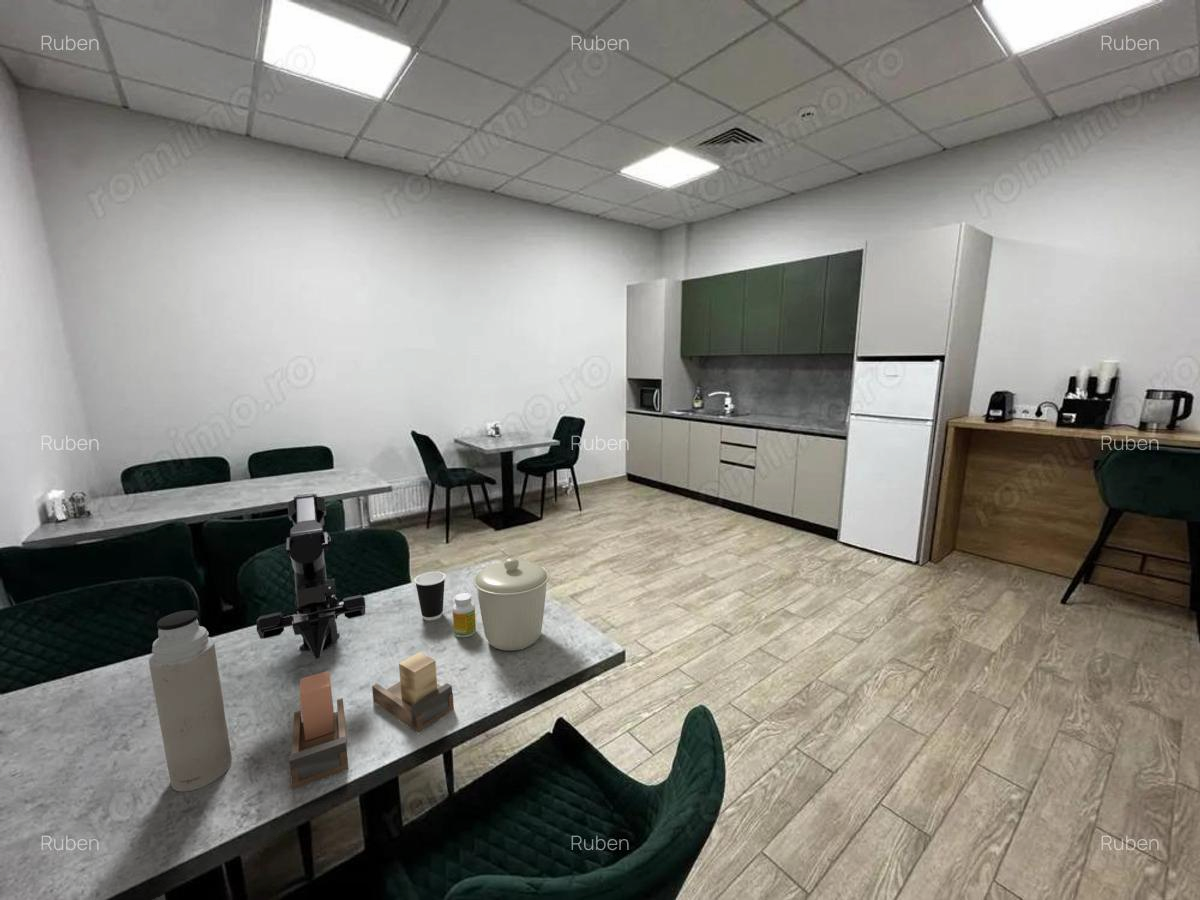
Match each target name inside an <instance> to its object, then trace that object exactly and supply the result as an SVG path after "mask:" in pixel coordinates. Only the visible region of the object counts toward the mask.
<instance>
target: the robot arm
mask: <svg viewBox="0 0 1200 900" xmlns="http://www.w3.org/2000/svg"><path fill="white" fill-rule="evenodd" d="M317 495H318V494H317V493H305V494H297V495H296V496H295V495H294V496H293V499H292V500H290V501H288V502H287V512H288V519H289V521H292V525H293V526H292V527H291V528H290V532H289V537H286V547H285V549H286V550H285V552H286V557H289V558H290V560H291V565H292V569H293V570H294V571H293V572H294V586H295V597H294V614H293V615H292V614H291V615H287V616H283V615H282V612H281V611H279V612H275V613H269V614H265V615H264V614H263V615H261V616H259V617H258V618H257V619H256V632H257V634H258V636H259V638H260V639H265V640H266V639H270V638H273V637H278V636H280V635H282V633H283V632H284V631H285V628H287V627H292V630H293V633H294V635H295V636H299V635H301V637H302V642H303V643H302V644H301V645H300V646H299V650H301V651H305V650H307V651H310V652H311V653H312V656H313V658H314V659H315V660H318V659H321V656H322V652H323V651H324V650H325V651H326V650H327V649H328V648H329V647H330V646H332V644H333V643H334V642H335V641H336V640H337V639H338V638H339V637H340V633H339V632H338V627H337V622H336V620H337V619H338V617H339V616H340V615H344V617H345V618H347V619H349V620H351V619H354V618H358V617H362V616H365V615H366V599H365V597H364V596H363V595H362V594H359V595H354V596H349V597H344V598H342V600H343V602H342V603H343V604H340V599H338V598H337V596H336V595H337V590H336V589H337V588H336V581H335V578H331V579H327V570H326V561H325V552H326V551H329V548H330V547H332V539H331V536H330V535H329V533H328V532H327V531H324V529H323V528H324V527H323V526H324V525H325V517H324V516H327V507H326V499H325V498H324V497H321V496H317Z"/></svg>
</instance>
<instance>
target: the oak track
mask: <svg viewBox="0 0 1200 900" xmlns="http://www.w3.org/2000/svg"><path fill="white" fill-rule="evenodd" d="M371 688H372V690H371V691H372V699H373V702H374V703H375V704H377V706H379V707H381V708H382V709H383V710H385V711H386V712H387V713H389V714H390V715H392V716H393V717H394V718H395V719H397V720H399V721H400V722H401V723H402V724H403V725H405V726H407V727H408V728H410V729H411V730H412V731H414V732H415V733H416V734H420V733H421V732H423V731H424V730H426V729H427V728H428V727H431V725H433V724H434V723H436V722H437V721H439V720H440V719H441V718H443V717H445V716H446V715H447V714H449V713H451V712H452V711H453V710H454V709H455V708H454V707H455V706H454V705H455V704H454V693H453V685H451V684H450V683H448V682H446V683H445V684H442V685H440V684H438V683H437V690H435V691H433V692H432V693H430V694H429V695H427V696H426V697H424V698H422V699H421V700H419V701H418V702H416V703H415V704H413V705H411V706H410V705H408V704H407V703H405V702H404V701H402V696H401V684H400V681H399V682H396V683H394V684H393V685H391V686H389V687H388V688H385V687H384V686H382V685H380V684H378V683H377V682H376V683H375V684H373V685H371Z"/></svg>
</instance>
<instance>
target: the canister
mask: <svg viewBox="0 0 1200 900" xmlns="http://www.w3.org/2000/svg"><path fill="white" fill-rule="evenodd" d="M549 580H550V572H549V570H548V569H546V568H545V567H544V566H543V565H540V564H537V563H536V562H533V561H528V560H519V559H518V558H516V557H509V558H507V559H506V560H504V561H500V562H496V563H493V564H491V565H488V566H487V567H485V568H483V569H481V570H480V571H479V572H477V573H476V574H475V576H474V577H473V583H472V584H473V586H474V587H475V588H476V589H477V590H476V592H477V599H478V604H479V609H480V615H481V616H480V617H481V621H482V626H483V631H484V632H483V633H484V635H485V638H486V640H487V642H488V643H489V645H491V646H492V647H493V648H495V649H498V650H500V651H508V652H510V651H518V650H519V651H520V650H523V649H525V648H529V647H531V646H533V644H535V643H536V642H537V641H538V639H539V637H540V635H541V633H542V631H543V624H544V623H543V622H544V613H545V607H546V606H545V604H546V594H547V583H548V582H549Z"/></svg>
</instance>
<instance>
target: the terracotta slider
mask: <svg viewBox="0 0 1200 900" xmlns="http://www.w3.org/2000/svg"><path fill="white" fill-rule="evenodd" d="M330 675H331V673H330V671H329V670H327V671H323V672H319V673H317V674H313V675H308V676H305V677H302V678H301V677H300V681H299V683H300V684H299V698H300V699H299V701H300V708H301V709H300V710H301V719H302V722H303V726H304V734H305V741H307V740H310V739H313V738H316V737H319V736H322V735H325V734H328V733H331V732H335V726H334V712H335V710H334V704H333V703H334V702H333V695H332V694H333V693H332V692H333V691H332V686H331V676H330Z"/></svg>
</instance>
